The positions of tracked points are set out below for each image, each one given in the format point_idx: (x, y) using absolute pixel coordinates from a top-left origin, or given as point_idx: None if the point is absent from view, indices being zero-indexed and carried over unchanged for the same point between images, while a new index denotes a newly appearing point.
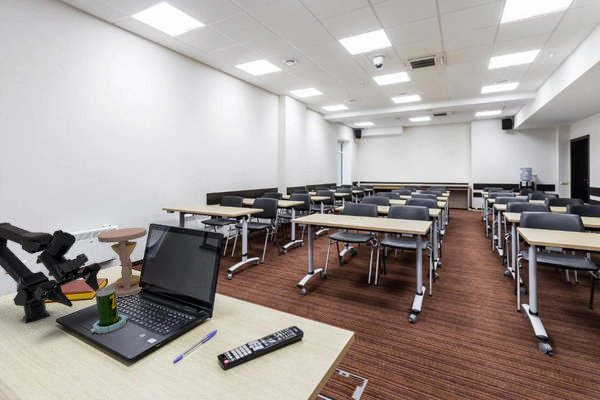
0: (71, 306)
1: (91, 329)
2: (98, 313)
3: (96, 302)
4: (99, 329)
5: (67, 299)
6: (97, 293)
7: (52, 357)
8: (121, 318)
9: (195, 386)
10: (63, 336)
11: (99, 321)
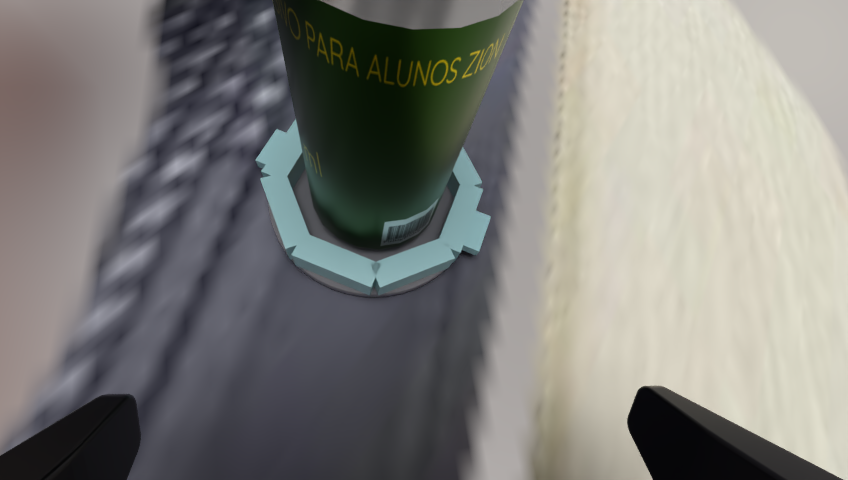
0: (637, 409)
1: (478, 245)
2: (460, 151)
3: (483, 91)
4: (472, 172)
5: (781, 466)
6: None
7: (700, 240)
8: None
9: None
10: (576, 424)
11: (442, 194)
